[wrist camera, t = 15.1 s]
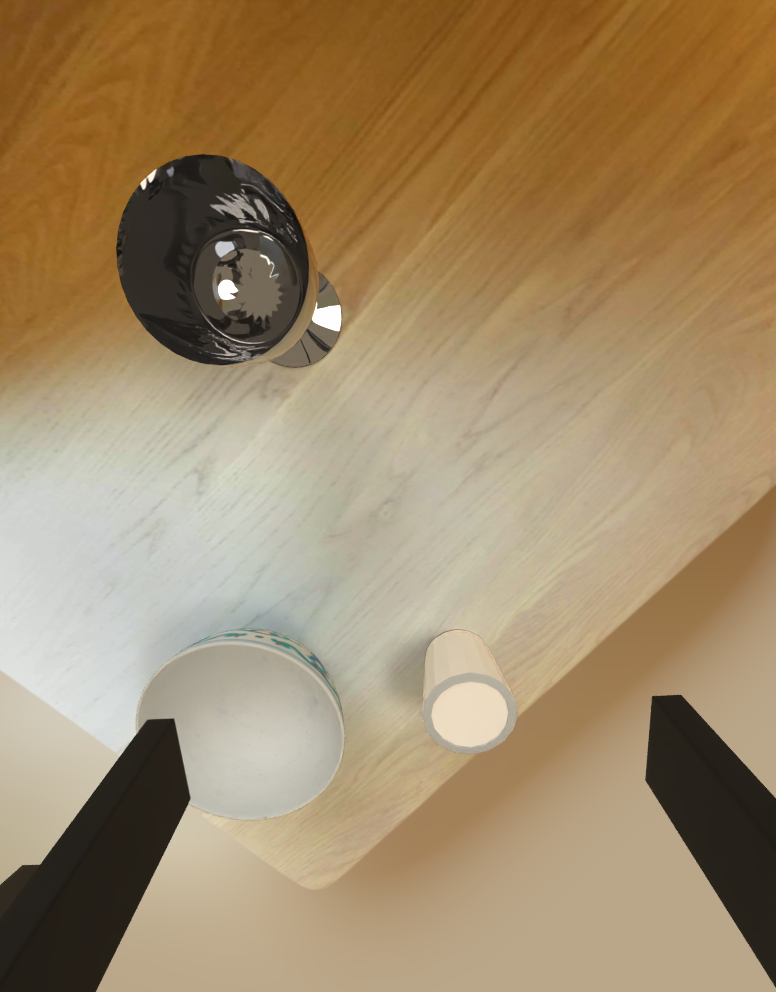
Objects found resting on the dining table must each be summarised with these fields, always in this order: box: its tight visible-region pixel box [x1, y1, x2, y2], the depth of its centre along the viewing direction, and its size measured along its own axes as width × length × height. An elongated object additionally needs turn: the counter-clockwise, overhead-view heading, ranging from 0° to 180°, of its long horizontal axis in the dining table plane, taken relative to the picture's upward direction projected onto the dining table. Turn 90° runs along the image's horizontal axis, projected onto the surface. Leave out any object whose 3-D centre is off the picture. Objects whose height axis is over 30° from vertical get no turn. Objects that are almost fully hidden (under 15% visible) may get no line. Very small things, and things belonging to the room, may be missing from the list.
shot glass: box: [422, 630, 518, 754], centre depth 36 cm, size 7×7×7 cm
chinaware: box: [136, 629, 345, 820], centre depth 37 cm, size 15×15×8 cm
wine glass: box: [116, 154, 342, 367], centre depth 26 cm, size 8×8×15 cm
